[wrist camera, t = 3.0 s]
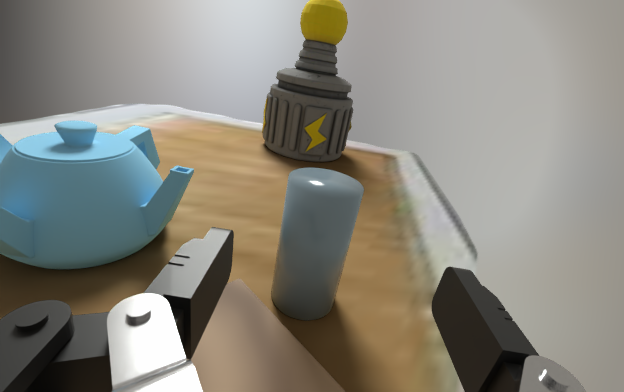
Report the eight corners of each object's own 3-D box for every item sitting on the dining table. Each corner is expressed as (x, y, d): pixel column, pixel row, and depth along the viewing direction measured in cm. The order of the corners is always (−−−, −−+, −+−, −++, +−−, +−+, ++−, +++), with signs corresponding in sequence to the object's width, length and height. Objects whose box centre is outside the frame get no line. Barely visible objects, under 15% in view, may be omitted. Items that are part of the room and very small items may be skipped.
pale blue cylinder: (300, 331, 23) (328, 205, 18) (258, 288, 26) (273, 172, 22) (346, 301, 27) (378, 190, 22) (304, 266, 30) (325, 164, 26)
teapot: (199, 256, 29) (201, 149, 25) (-32, 316, 20) (-96, 161, 15) (157, 191, 39) (153, 107, 35) (-7, 210, 30) (-41, 99, 25)
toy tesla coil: (259, 133, 74) (273, -10, 62) (331, 142, 79) (358, 11, 66) (263, 158, 58) (284, -29, 45) (354, 167, 62) (395, 0, 50)
